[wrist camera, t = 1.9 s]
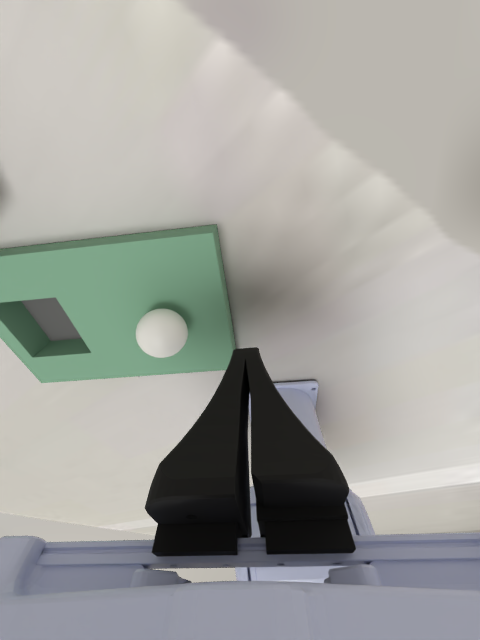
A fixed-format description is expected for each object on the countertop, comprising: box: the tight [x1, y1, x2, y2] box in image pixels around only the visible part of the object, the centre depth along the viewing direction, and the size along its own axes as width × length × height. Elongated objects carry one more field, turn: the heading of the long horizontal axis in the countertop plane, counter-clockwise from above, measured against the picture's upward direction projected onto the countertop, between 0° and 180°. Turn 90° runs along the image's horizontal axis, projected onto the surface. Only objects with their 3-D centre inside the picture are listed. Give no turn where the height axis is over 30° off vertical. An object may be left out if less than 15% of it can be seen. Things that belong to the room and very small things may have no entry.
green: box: [0, 224, 236, 383], centre depth 19 cm, size 12×19×2 cm, turn 96°
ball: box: [136, 308, 188, 358], centre depth 16 cm, size 4×4×4 cm
